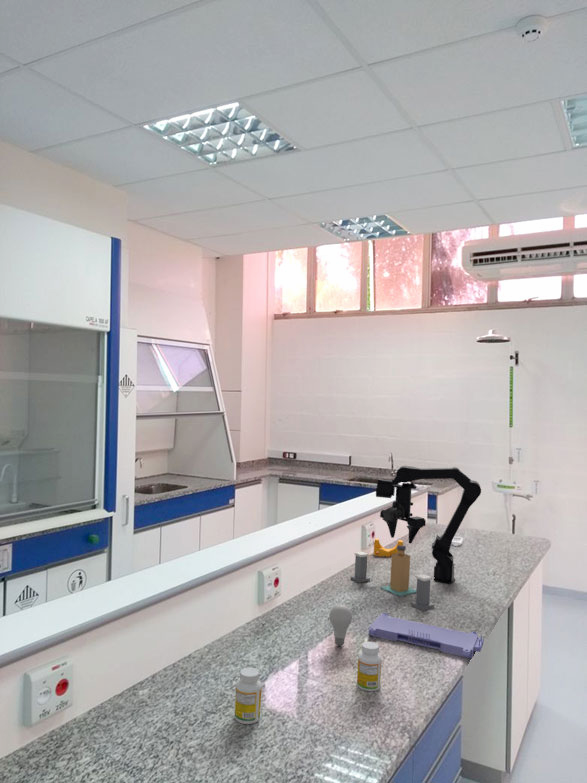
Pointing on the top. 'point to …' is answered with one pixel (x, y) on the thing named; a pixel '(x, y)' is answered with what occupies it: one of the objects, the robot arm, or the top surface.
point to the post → (423, 593)
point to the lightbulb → (340, 622)
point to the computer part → (426, 635)
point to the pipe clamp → (383, 551)
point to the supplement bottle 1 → (248, 696)
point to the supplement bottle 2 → (369, 667)
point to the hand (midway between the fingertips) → (401, 540)
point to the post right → (360, 567)
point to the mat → (400, 592)
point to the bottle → (400, 570)
